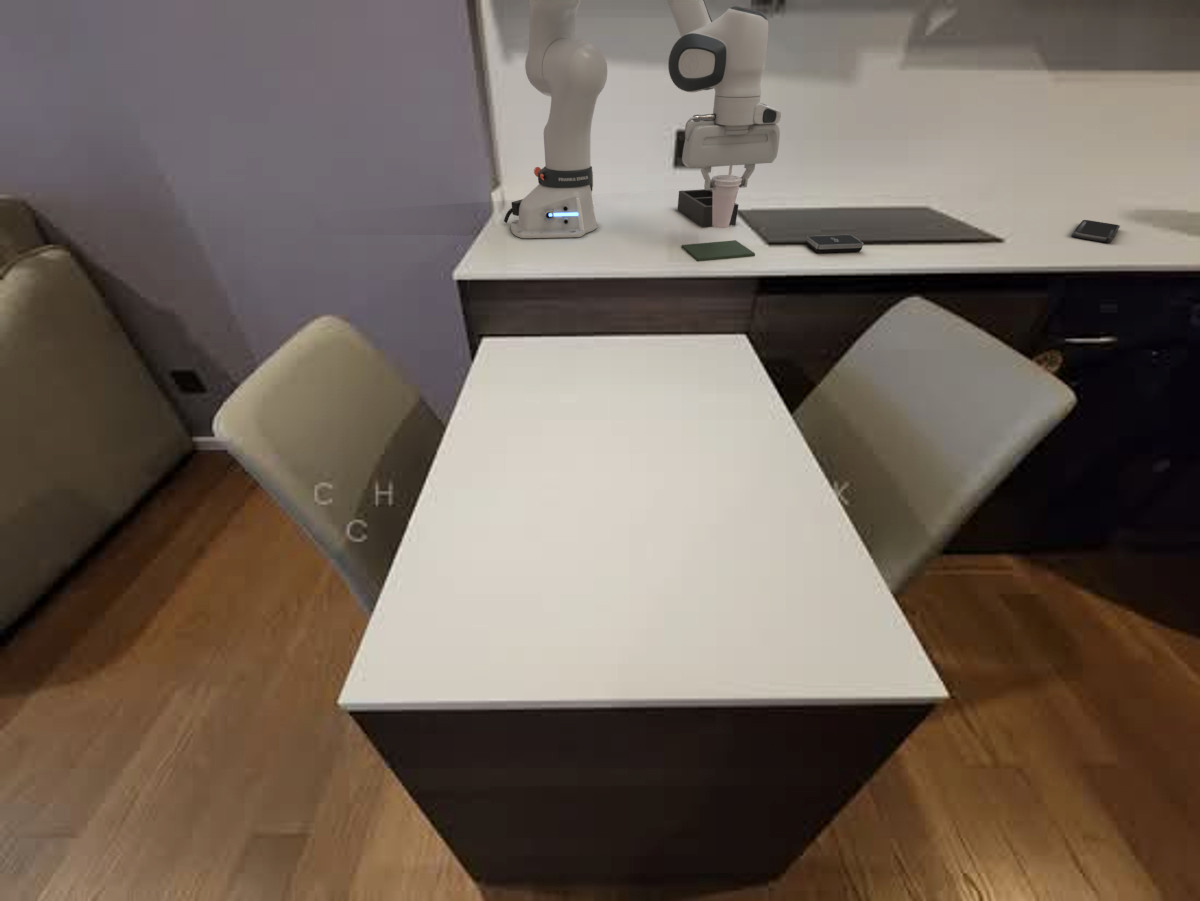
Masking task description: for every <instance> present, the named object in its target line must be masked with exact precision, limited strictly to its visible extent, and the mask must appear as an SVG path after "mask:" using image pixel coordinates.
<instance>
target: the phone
mask: <svg viewBox="0 0 1200 901" xmlns="http://www.w3.org/2000/svg"><path fill="white" fill-rule="evenodd" d="M1120 228H1121V225H1119V224H1116V223H1110V222H1103V221H1096V220H1089V219H1083V220H1082V221H1081V222H1080V223H1079V224H1078V225H1077V226H1076V228H1075V229H1074V230H1073V232H1072V234H1071V237H1073V238H1076V239H1081V240H1086V241H1087V240H1088V241H1093V242H1098V243H1105V244H1106V243H1107V244H1109V243H1112V241H1113V240H1114V238H1115V237H1116V234H1117V233H1118V231H1119V229H1120Z"/></svg>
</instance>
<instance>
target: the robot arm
mask: <svg viewBox="0 0 1200 901" xmlns="http://www.w3.org/2000/svg"><path fill="white" fill-rule="evenodd" d="M581 1H582V0H528V14H529V15H528V16H529V22H528V24H529V25H528V26H529V27H528V28H529V31H528V32H529V33H528V42H529V43H528V51H527V53H526V57H525V64H524V70H525V75H526V78H527V79H528V81H529V83H530V85H532V86H533V88H535V89H536V90H537V91H538V92H539V93H541V94H542V95H544V96H546V97H549V98H551V99H550V108H549V113H548V114H549V115H548V119H547V123H546V125H545V126H544V128H543V146H544V147H543V148H544V162H545V166H544V167H542V168H541V167H540V166H536V167H534V169H533V174H534V175H535V177H537V181H538V182H537V183H538V185H536V187H535V188H533V189H532V190H531V191H530V192H529V193H528V194H527V195H526V196H524V197H523V198H522V199H517V200H515V201H511V208H510V209H508V211H507V212H506V214H505V216H504V219H503V222H504V223H506V224H507V223H508V221H509V219H510V216H511V214H512V216H516V217H518V219H515V220H513V221H511V223H510V231H511V233H512V234H513V235H515V236H516V237H517V238H521V239H555V238H556V239H557V238H580V237H583V236H584V235H586V234H587V233H591V232H593V231H595V230H597V228H598V226H599V225H598V222H597V219H596V214H595V208H594V203H593V202H594V201H593V187H594V172H593V166H592V165H591V132H592V131H591V130H592V123H593V117H594V112H595V108H596V104H597V101H598V98H599V95H600V94H601V93H602V92H603V89H604V88H605V85H606V83H607V79H608V63H607V59H606V57H605V55H604V53H603V52H602V50H601V49H600V48H599V47H597V46H596V45H594V44H593V43H591V42H589V41H587V40H585V39H583V38H576V35H575V34H576V20H577V13H578V9H579V6H580V4H581ZM666 2H667V4H668V7H669V9H670V12H671V14H672V17H673V20H674V22H675V25H676V27H677V30H678V32H679V35H680V38H678V39H677V40H676V42H675V43H674V44H673V46H672V48H671V51H670V53H669V57H668V63H667V64H668V65H667V66H668V73H669V77H670V79H671V81H672V83H673V84H674V85H675V86H676V88H678V89H679V90H681V91H683V92H686V93H697V92H702V91H709V90H713V89H714V98H713V99H714V101H713V108H712V113H707V114H694V115H692V117H690V118H689V119H688V120H687V122H686V124H685V128H684V138H685V139H684V143H683V148H682V154H681V155H682V156H681V162H682V164H683V165H684V166H685V167H687V168H689V169H700V173H701V175H702V178H703V180H704V189H705V190H713V189H714V182H715V181H713V180H712V178H711V177H710V173H712V168H716V167H730V166H732V167H733V166H743V168H744V169H745V170H744V172H743V173H742V176H739V177H740V178H741V179H742V180H741V185H739V189H741V188H742V189H743V188H744V189H745V188H747V187H748V182H749V179H750V177H751V176H752V174H753V173H754V171H755V169H756V165H759V164H760V165H761V164H772V163H773V162H774V161H775V160H776V158H777V156H778V152H779V146H780V138H781V133H780V132H781V130H780V128H779V125H778V123H779V122H780V121H781V117H782V112H781V110H778V109H776V108H773V107H771V106H768V105H767V104H765V103H761V96H762V89H761V88H762V87H761V83H762V77H763V74H764V71H765V68H766V62H767V56H768V55H767V54H768V46H769V33H770V32H769V31H770V30H769V29H770V28H769V21H768V18H767V16H766V15H765V14H764V13H763V12H762V11H760V10H756V9H753V8H748V7H743V6H738V5H737V6H736V5H735V6H732V7H731V6H730V7H729V8H728V9H726V11H725V12H724V13H723V14H722V15H720V16H719V17H717V18H716V19H715V20H713V19H712V17H711V15H710V13H709V11H708V8H707V5H706V2H705V0H666Z"/></svg>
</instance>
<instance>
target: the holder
mask: <svg viewBox="0 0 1200 901" xmlns="http://www.w3.org/2000/svg"><path fill="white" fill-rule="evenodd" d="M712 195H713V193H712V190H705V188H704V189H687V190H679V191H678V199H677V211H678V212H680V213H681V214H682V215H684V216H685V217H687V218H688V219H690V220H691V221H693V222H694V223H695V224H697V225H698V226H699V227H701V228H712V227H714V226H712ZM738 211H739V204H738V203H737V202H735V205H734V208H733V212H732V216H731V220H730V224H729V226H736V225H737V219H738V218H737V217H738ZM714 228H715V227H714Z"/></svg>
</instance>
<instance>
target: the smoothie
mask: <svg viewBox="0 0 1200 901" xmlns="http://www.w3.org/2000/svg"><path fill="white" fill-rule="evenodd" d="M728 168H729V169H728V174H719V175H714V176H712V177H711V180H713V181H715V182H714V189H713V190H712V193H713V195H712V226H714V228H717V229H727V228H730V225H729V224H730V220H731V216H732V212H733V208H734V205H735V203H736V200H737V196H738V193H739V189H740V188H739V185H741V180H742V179H741V178H740V177H741V176H737V175H732V171H733V165H732V166H728Z"/></svg>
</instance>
